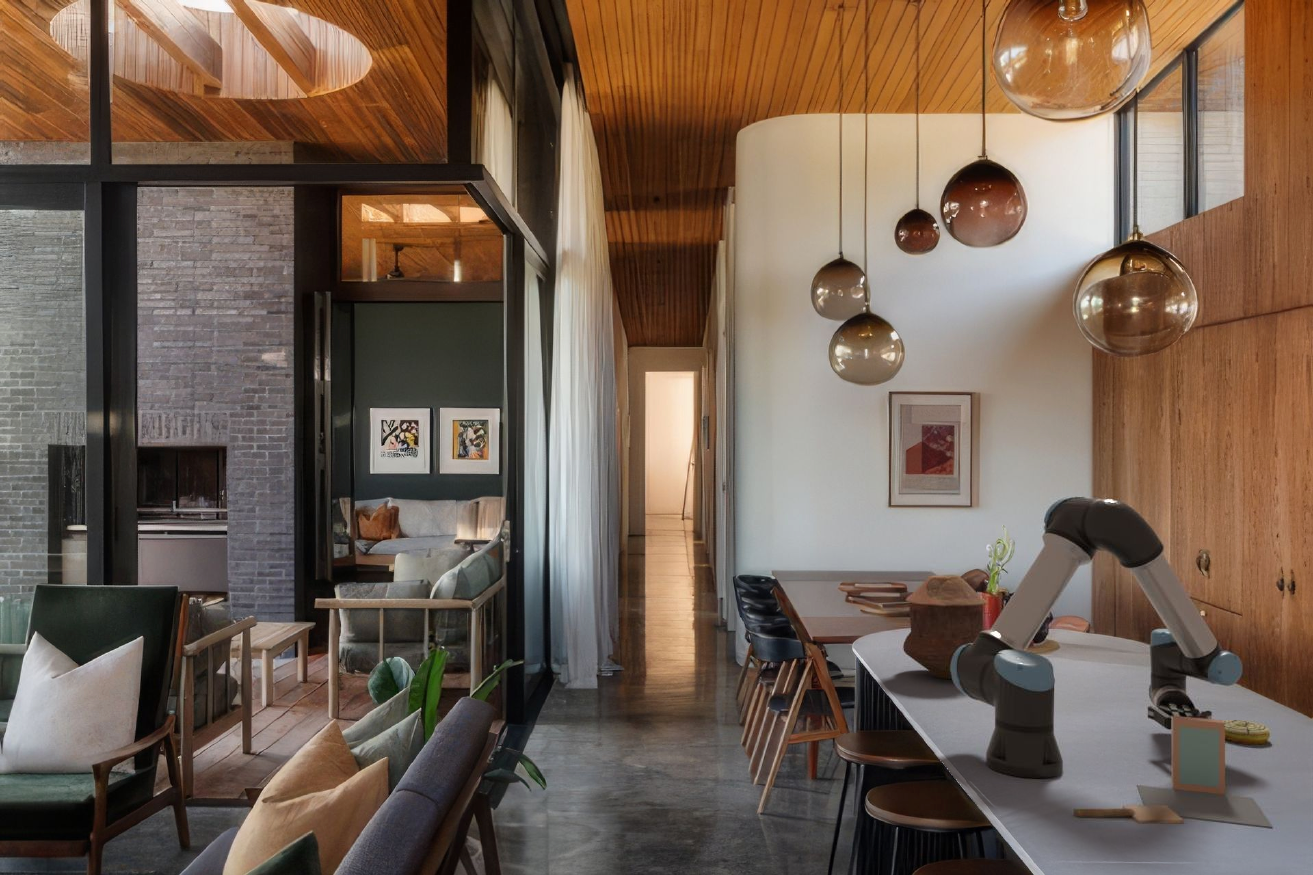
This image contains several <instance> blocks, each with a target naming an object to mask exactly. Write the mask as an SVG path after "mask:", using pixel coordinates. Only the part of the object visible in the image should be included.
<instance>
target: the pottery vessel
mask: <svg viewBox="0 0 1313 875" xmlns="http://www.w3.org/2000/svg"><path fill="white" fill-rule="evenodd" d="M905 601H906V603H909V624H910V632H909V633H908V635H907V636H906V638H905V640H904V642H903V647H902V648H903V651H904V653H905V654H906V655H907V656H908V657H910V658H911V659H912V660H913V661H915V662H917V663H918V664H919V665H920V666H922V667H923V668H925V670H928V671H929V672H930V673H931V674H932V676H934V677H935V678H940V679H947V680H948V679H950V680H952V675H951V670H950V666H951V660H952V657H953V655H954V653H955V652H956V650H957V649H958V648H959V647H961V646H963V645H966V644H969V643H973V642H974V641H975V639H976V638H977V636H978V635H979V633H980V632H981V631H985V630H984V627H985V626H984V606H986V605H988V604H989V603H988V601H987V600H985V599H984V598H982V596H980V595H979V593H978V592H977V591H976V590H975V589H974V588H973V587H972V586H971V585H970V584H969V583H968V582H967V581H966V580H964V579H963V577H961V576H959V575H957V574H937V575H930V576H929V577H928V578H927V579H926V580H925V581H923V583H922V584H921V585H920V586H918V587H917V589H915V590H914V591H913V593H911V594H910V595H909V596H907V597H906V599H905Z"/></svg>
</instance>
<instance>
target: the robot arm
mask: <svg viewBox="0 0 1313 875" xmlns="http://www.w3.org/2000/svg"><path fill="white" fill-rule="evenodd" d="M1043 523H1044V525H1043V529H1044V533H1043V534H1042V538H1041V539H1042V541H1043V548H1042V549H1041V550H1040V552H1039V554H1038V555H1037V556H1036V558H1035V560H1034V561H1033V563H1032V565H1031V566H1030V567H1029V569H1028V571H1027V572H1026V574H1025V576H1024V577H1023V578H1022V579H1021V581H1020V583H1019V585H1018V586H1017V588H1016V589H1015V591H1014V592H1013V594H1011V597H1010V598H1009V600H1008V602H1006V604H1005V606H1004V608H1003V609H1002V610H1001V612H1000V614H999V615H998V617H997V618H996V620H995V621H994V623H993V624H992V626H991V628H990V629H985V630H983V631H981V632H980V633H979V635H978V636H977V638H976V639H975V641H974V642H973V643H969V644H966V645H963V646H961V647H959V648H958V649H957V650H956V652H955V653H954V655H953V657H952V660H951V666H950V670H951V675H952V679H951V680H952V682H953V684H954V686H955V687H956V688H957V689H958V690H959V691H960V692H961V693H963V694H964V695H966V696H968V698H971V700H972V699H973V700H975V701H980V702H982V703H985V704H987V705H989V706H992V707H993V708H994V730H993V732H992V735H991V738H990V740H989V744H988V746H987V750H986V754H985V760H986V762H985V763H986V766H987V767H988V768H990V769H992V770H994V771H996V772H998V773H1002V774H1005V775H1011V776H1015V777H1020V778H1028V779H1029V778H1030V779H1032V778H1033V779H1048V778H1054V777H1057V776H1058V777H1059V776H1060V775H1062V774H1063V773H1064V772H1063V771H1064V769H1063V768H1064V767H1063V766H1064V760H1063V757H1062V754H1061V752H1060V748H1059V745H1058V742H1057V739H1056V736H1055V728H1054V726H1055V724H1054V721H1055V684H1056V683H1055V682H1056V680H1055V674H1054V666H1053V663H1052V662H1051V661H1050V660H1049V659H1047V658H1046V657H1045V656H1043V655H1041V654H1038V653H1036V652H1031V651H1030V652H1029V651H1026V650H1027V649H1028V647H1029V646H1030V644H1031V643H1032V641H1033V639H1034V638H1035V636H1036V634H1037V633H1038V632H1039V630H1040V628H1041V627H1042V626H1043V623H1044V622H1045V621H1046V619H1047V617H1048V615H1049V614H1050V612H1051V611H1052V610H1053V608H1054V606H1055V604H1056V603H1057V601H1058V600H1059V598H1060V597H1061V595H1062V593H1063V592H1064V590H1065V589H1066V587H1067V586H1068V585H1069V583H1070V581H1071V580H1072V578H1073V576H1074V574H1076V572H1077V570H1078V569H1079V567H1081V566H1086V565H1089V564H1090V563H1091V562H1092V560H1093V559H1094V557H1095V555H1096V554H1097V552H1098V551H1103V552H1107V553H1109V554H1111V555H1113V556H1114V557H1115V558H1116V560H1117V561H1118V562H1119V564H1120V565H1121V567H1123V568H1124V569H1128V570H1129V571H1130V573H1131V574H1132V575H1133V577H1134V578H1135V580H1136V581H1137V583H1138V584H1139V586H1140V588H1141V590H1142V591H1143V593H1144V594H1145V595H1146V598H1147V599H1148V600H1149V602H1150V603H1151V605H1152V607H1153V608H1154V610H1155V611H1156V613H1157V615H1158V617H1159V618H1160V620H1161V621H1162V622H1163V624H1164V625H1165V627H1166V628H1157V629H1154V630H1152V631H1151V632H1150V644H1149V650H1150V652H1149V653H1150V654H1149V655H1150V657H1149V658H1150V684H1149V687H1148V697H1149V699H1150V701H1151V703H1152V704H1153V706H1152V705H1149V706H1147V718H1148V719H1150V720H1153V721H1155V722H1156V723H1157V724H1159V725H1161V726H1162V727H1163V728H1164V729H1166V730H1171V716H1181V717H1192V718H1204V719H1213V716H1212V715H1213V712H1212V711H1211V710H1205V711H1203V710H1202V711H1200V710H1199V709H1197V708H1196V707H1195V705H1194V702H1193V701H1192V700H1191V698H1190V696H1189V695H1188V694H1187V677H1190V678H1193V679H1197V680H1199V681H1204V682H1206V683H1210V684H1212V685H1220V686H1225V687H1229V686H1233V685H1235V684H1236V683H1237V682H1238V681H1239V680H1240V679H1241V677H1242V674H1243V664H1242V663H1243V662H1242V660H1241V659H1240V657H1239V656H1238V655H1237V654H1235V653H1232V652H1230V651H1228V650H1224V649H1223V648H1222V646H1221V645H1220V643H1219V642H1218V641H1217V638H1216V637H1215V636H1214V634H1213V632H1212V631H1211V629H1210V627H1209V626H1208V624H1207V622H1206V621H1205V619H1204V618H1203V616H1202V614H1201V612H1199V610H1198V608H1197V607H1196V604H1194V601H1193V600H1192V598H1191V597H1190V595H1189V594H1188V592H1187V590H1186V589H1185V587H1184V586H1183V583H1181V580H1180V579H1179V578H1178V576H1177V575H1176V573H1175V571H1174V569H1173V567H1172V566H1171V565H1170V563H1169V561H1168V559H1167V558H1166V557H1165V555H1164V550H1165V546H1164V544H1163V543H1162V541H1161V539H1160V538H1159V537H1158V534H1157V533H1156V532H1155V530H1154V529H1153V527H1151V524H1149V523H1148V522H1147V521H1146V519H1144V517H1143V516H1142V515H1140V513H1139V512H1138V511H1136V510H1135V509H1134V508H1133V507H1132V506H1130V505H1128V504H1127V503H1125V502H1123V501H1120V500H1116V499H1113V498H1112V499H1111V498H1090V497H1089V498H1088V497H1084V496H1071V497H1064V498H1060V499H1058V500H1057V501H1055V502H1053V504H1051V505H1050V506H1049V508H1048V509H1047V511H1046V513H1045V515H1044V519H1043Z"/></svg>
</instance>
